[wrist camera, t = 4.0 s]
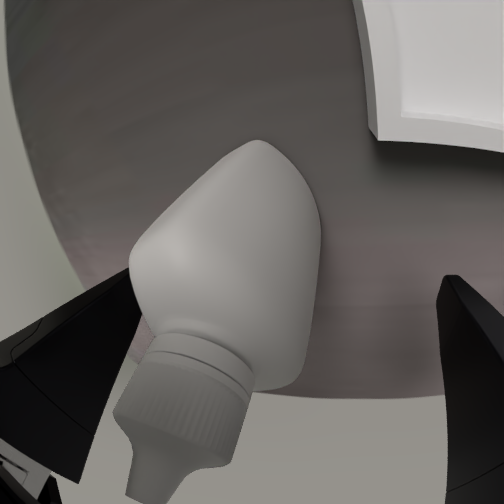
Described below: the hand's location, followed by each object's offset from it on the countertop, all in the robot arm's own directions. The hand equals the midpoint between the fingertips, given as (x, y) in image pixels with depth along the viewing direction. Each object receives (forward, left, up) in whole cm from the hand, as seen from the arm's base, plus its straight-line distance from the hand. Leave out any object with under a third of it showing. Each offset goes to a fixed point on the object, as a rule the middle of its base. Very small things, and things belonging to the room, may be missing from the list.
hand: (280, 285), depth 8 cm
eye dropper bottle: (0, +1, -6) cm, 6 cm away
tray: (+10, -10, -6) cm, 15 cm away
